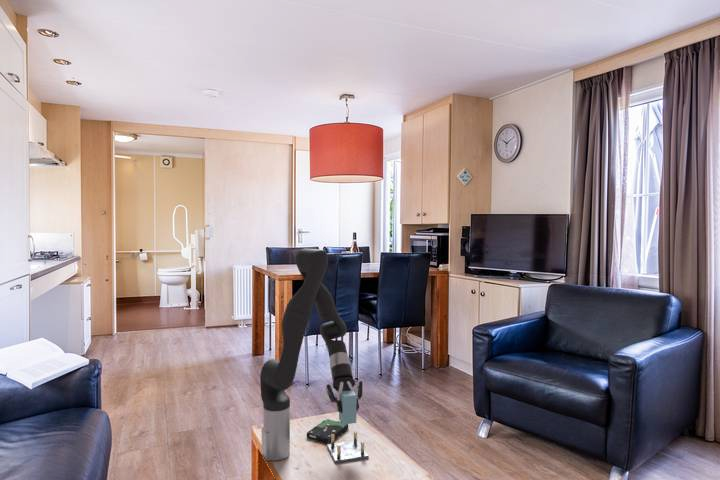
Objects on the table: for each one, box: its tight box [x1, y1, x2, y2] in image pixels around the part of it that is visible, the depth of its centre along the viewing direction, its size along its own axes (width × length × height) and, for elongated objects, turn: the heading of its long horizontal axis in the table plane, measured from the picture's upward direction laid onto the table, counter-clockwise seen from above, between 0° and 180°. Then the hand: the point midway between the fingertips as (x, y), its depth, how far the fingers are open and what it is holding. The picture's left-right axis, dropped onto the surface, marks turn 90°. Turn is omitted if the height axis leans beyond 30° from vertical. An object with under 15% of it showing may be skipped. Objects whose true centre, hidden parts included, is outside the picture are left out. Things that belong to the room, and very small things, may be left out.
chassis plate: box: [326, 431, 370, 464], centre depth 163 cm, size 12×12×5 cm
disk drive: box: [306, 418, 349, 444], centre depth 178 cm, size 10×3×15 cm
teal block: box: [338, 390, 358, 425], centre depth 162 cm, size 5×5×10 cm
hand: (349, 411), depth 160 cm, fingers closed on teal block, 5 cm apart
